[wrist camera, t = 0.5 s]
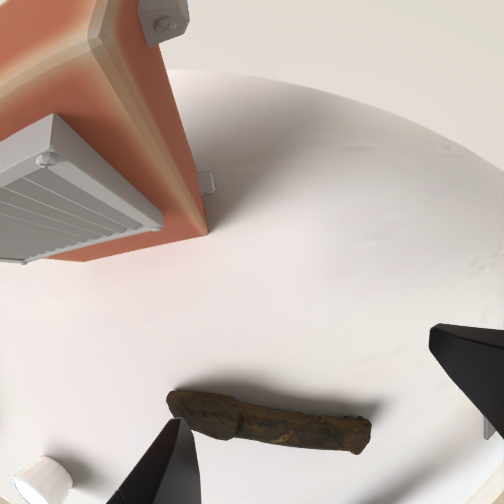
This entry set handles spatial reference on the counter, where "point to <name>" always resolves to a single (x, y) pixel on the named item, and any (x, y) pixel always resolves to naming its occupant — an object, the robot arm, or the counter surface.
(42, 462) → the white cup
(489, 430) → the base
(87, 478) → the counter surface
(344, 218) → the counter surface
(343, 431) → the hand tool
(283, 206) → the counter surface
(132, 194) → the brown case
